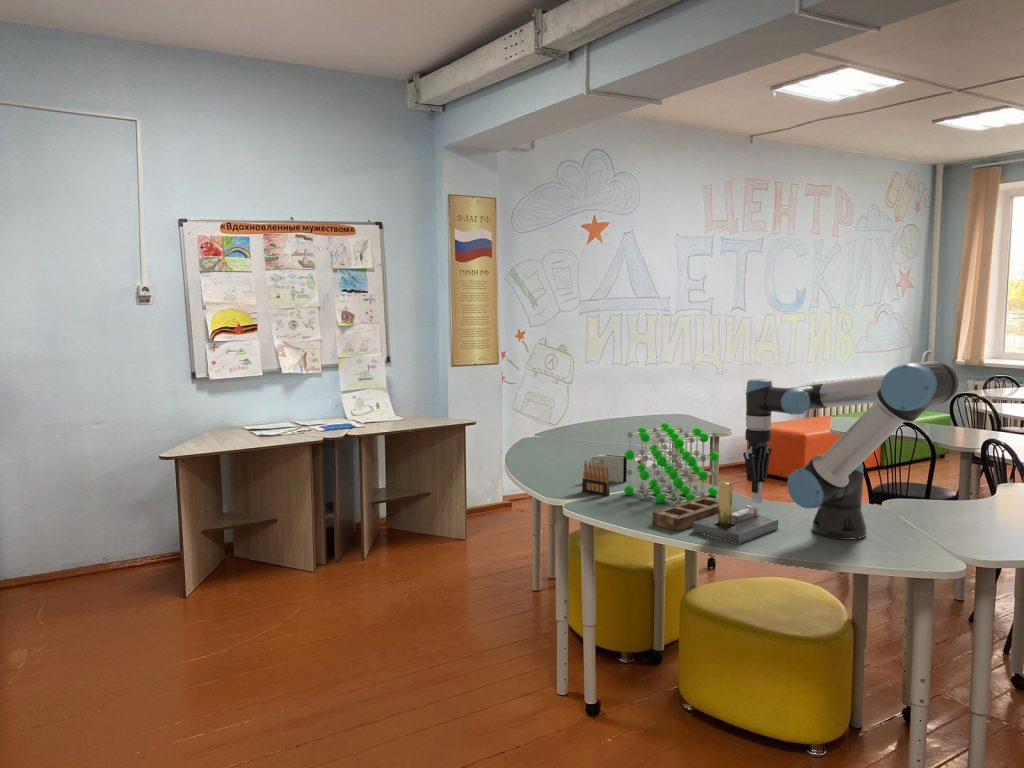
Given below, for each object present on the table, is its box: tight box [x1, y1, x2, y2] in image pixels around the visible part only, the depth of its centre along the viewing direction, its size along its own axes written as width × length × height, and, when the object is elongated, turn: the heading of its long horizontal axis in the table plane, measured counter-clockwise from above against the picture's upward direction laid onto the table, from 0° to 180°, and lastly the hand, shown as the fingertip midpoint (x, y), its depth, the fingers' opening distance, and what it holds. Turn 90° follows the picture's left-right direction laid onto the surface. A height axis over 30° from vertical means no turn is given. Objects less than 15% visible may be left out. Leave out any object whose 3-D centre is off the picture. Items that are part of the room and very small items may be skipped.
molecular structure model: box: [623, 422, 720, 505], centre depth 271 cm, size 24×25×24 cm
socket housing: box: [691, 508, 779, 545], centre depth 232 cm, size 16×22×3 cm
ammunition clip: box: [581, 459, 611, 497], centre depth 275 cm, size 11×2×12 cm, turn 53°
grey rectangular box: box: [590, 454, 628, 483], centre depth 294 cm, size 14×5×10 cm, turn 84°
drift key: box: [732, 504, 761, 523], centre depth 235 cm, size 4×12×2 cm, turn 131°
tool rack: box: [651, 495, 719, 532], centre depth 244 cm, size 10×28×4 cm, turn 131°
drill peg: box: [718, 480, 734, 529], centre depth 228 cm, size 4×4×16 cm
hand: (756, 502), depth 239 cm, fingers closed
